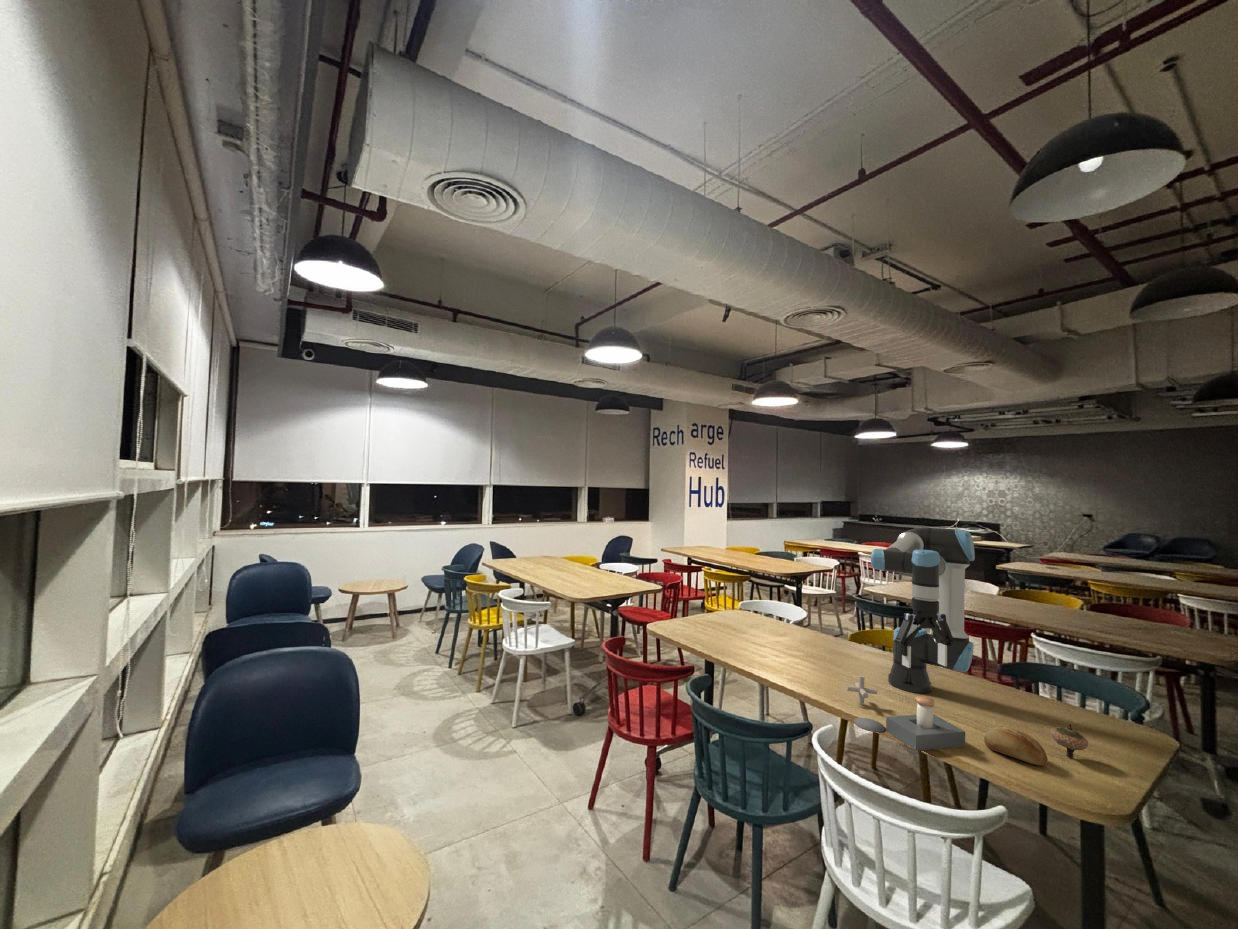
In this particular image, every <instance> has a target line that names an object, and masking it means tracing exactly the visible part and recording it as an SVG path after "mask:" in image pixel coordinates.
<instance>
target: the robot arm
mask: <svg viewBox="0 0 1238 929" xmlns="http://www.w3.org/2000/svg"><path fill="white" fill-rule="evenodd" d="M975 557H976V555H975V545H974V541H973V536H972V534H971V533H970V531H968V530H965V529H964V530H963V529H957V528H941V527H926V526H922V527H915V528H912V529H909V530H906V531H904V532H902V533H901V534H899V535H898V536H897V539H896V541H894V542H893V543H892V544H891V545H890V546H888V547H887V548H885V549H883V548H874V549H872V551H871V554H870V564H871V567H872V569H874V570H878V571H882V572H891V573H892V572H893V573H901V574H908V575H911V596H912V597H911V609H912V611H913V612H912V614H911V613H908V612H904V613H903V620H902V622H901V625H900V626H899V627H896V628H894V630H893V638H892V641H893V645H892V646H893V649H892V650H893V651H892V653H893V655H892V656H893V659H892V660H893V661H892V665H891V668H890V672H889V673H888V676H887V681H888V683H889V685H891V686H893V687H895V688H897V689H899V690H902V691H906V692H910V693H918V694H927V693H931V692H932V683H931V681H930V676H929V673H928V670H927V665H930V666H935V667H940V668H943V669H949V670H952V672H953V671H954V672H955V671H956V672H962V673H966V672H968V671H969V669H970V667H971V664H972V659H973V655H974V654H973V653H974V643H973V642H972V641H970V637H969V635H968V634H967V633H966V632H965V594H966V593H965V592H966V591H965V587H966V583H965V582H966V579H965V578H966V569H967V568H968V567H970V566H971V565H970V564H971V562H973V561H975V560H976V558H975ZM927 629H930V630H931V631H932V634H931V633H928V630H927Z"/></svg>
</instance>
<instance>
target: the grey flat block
mask: <svg viewBox="0 0 1238 929" xmlns="http://www.w3.org/2000/svg"><path fill="white" fill-rule="evenodd" d="M885 720H886V721H885V722H886V723H885V732H887V733H889V734H890V735H892V736H893V737H894V738H897V739H898V740H899V741H901V743H902V742H903V743H904V744H905V743H906V744H905V745H907V744H908V745H910V746H909V747H910V748H911V749H913V750H914V751H918V752H919V751H926V750H927V751H928V750H929V751H930V750H937V749H951V748H962V747H963V746H964V747H966V731H965V730H964V729H962V728H959V727H958V726H956V725H954V724H953V723H951V722H948V721H947V720H945V719H943V718H941V717H940V716H937V715H936V714H934V713H933V729H923V728H921V727H920V726H918V725H917V714H910V715H909V714H908V715H907V714H906V715H892V716H890V715H889V716H885ZM908 745H907V746H908ZM914 747H915V748H914ZM950 747H951V748H950Z"/></svg>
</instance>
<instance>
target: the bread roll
mask: <svg viewBox="0 0 1238 929" xmlns="http://www.w3.org/2000/svg"><path fill="white" fill-rule="evenodd" d="M983 740H984V744H985V746H986V747H987V748H988V749H990V750H992V751H994V752H997V753H1000V754H1003V755H1006V756H1009V757H1011V758H1014V759H1017V760H1020V761H1023V762H1025V763H1029V764H1032V765H1036V766H1045V765H1047V763H1048V756H1047V753H1046V751H1045V749H1044V748H1043V746H1042V744H1040V743H1039V741H1038V740H1036V739H1035V738H1034V737H1032V736H1031V735H1030V734H1028V733H1027V732H1024V730H1023V731H1022V730H1020V729H1017V728H1015V727H1011V726H1004V725H1003V726H995V727H994V726H993V727H991V728H990V729H988V731H987V732H986V733H985V735H984V738H983Z"/></svg>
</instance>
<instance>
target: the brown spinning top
mask: <svg viewBox="0 0 1238 929" xmlns="http://www.w3.org/2000/svg"><path fill="white" fill-rule="evenodd" d="M1050 736H1051V737H1052V739H1053V741H1055V742H1056V743H1057V744H1058V745H1060V746H1062V747H1064V748H1066V756H1065V757H1067V758H1070V759H1072V758H1073V759H1074V752H1075V751H1084V750H1085V749H1087V747H1088V746H1089V740H1088V739H1087V738H1086V736H1083V735H1082V734H1080V733H1079V731H1077V730H1074V729H1073V728H1072V724H1071V723H1069V725H1068V727H1064V726H1063V727H1062V726H1061V727H1054V728H1052V729H1051V730H1050Z"/></svg>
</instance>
